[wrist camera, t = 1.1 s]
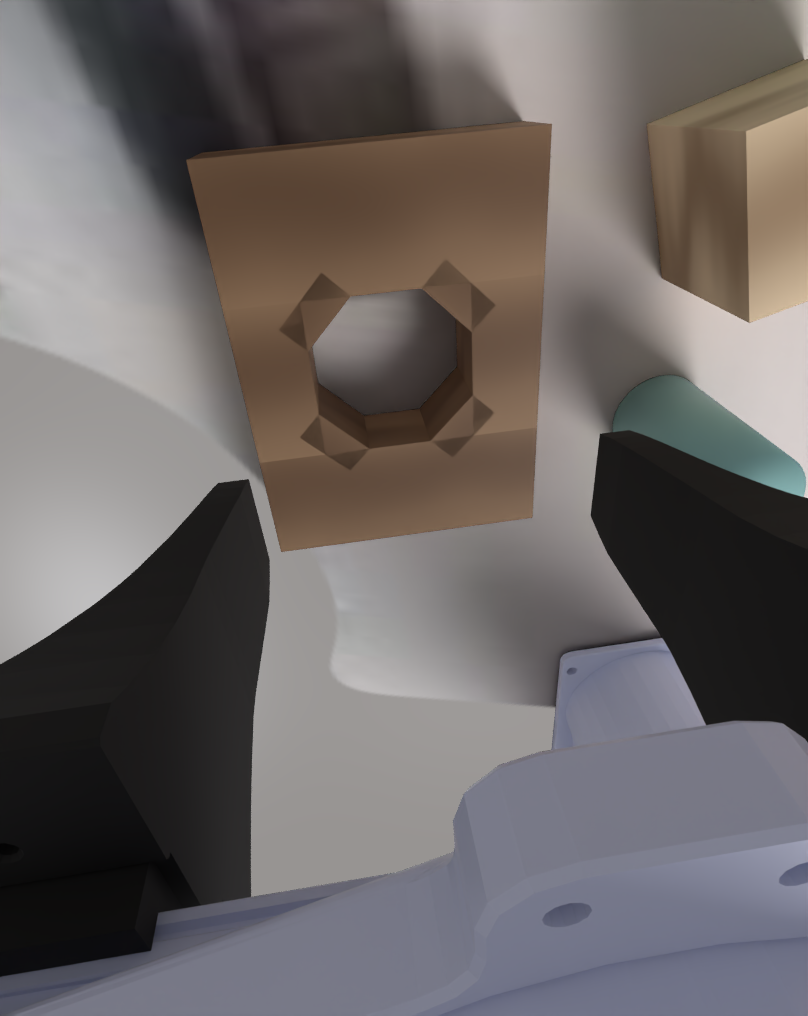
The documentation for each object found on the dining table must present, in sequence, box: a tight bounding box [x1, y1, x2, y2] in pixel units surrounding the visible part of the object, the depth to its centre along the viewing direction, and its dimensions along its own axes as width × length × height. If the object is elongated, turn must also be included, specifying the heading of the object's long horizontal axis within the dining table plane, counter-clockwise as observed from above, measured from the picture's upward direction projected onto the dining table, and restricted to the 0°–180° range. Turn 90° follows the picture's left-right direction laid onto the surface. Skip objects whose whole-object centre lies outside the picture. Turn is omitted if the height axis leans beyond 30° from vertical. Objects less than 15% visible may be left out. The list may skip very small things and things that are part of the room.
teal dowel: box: [613, 375, 806, 497], centre depth 21 cm, size 3×3×6 cm
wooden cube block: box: [647, 59, 808, 323], centre depth 17 cm, size 5×5×5 cm
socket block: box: [186, 121, 552, 552], centre depth 19 cm, size 12×9×2 cm
